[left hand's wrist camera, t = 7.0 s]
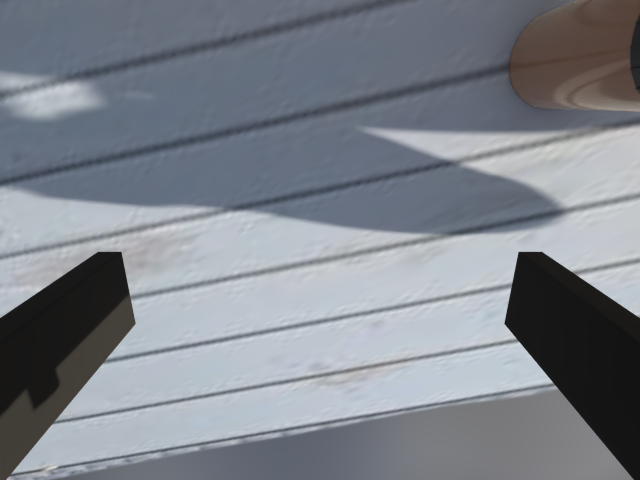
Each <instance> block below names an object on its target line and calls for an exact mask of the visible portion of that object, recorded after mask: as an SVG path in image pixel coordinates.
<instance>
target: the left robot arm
mask: <svg viewBox="0 0 640 480" xmlns="http://www.w3.org/2000/svg"><path fill="white" fill-rule="evenodd" d="M134 325H135V319H134V313H133V308H132V303H131V298H130V293H129V288H128V283H127V278H126V273H125V268H124V263H123V258H122V253H121V252H97V253H96V254H94V255H93V256H91V257H90V258H88V259H87V260H85V261H84V262H82V263H81V264H80V265H78V266H77V267H75V268H74V269H72V270H71V271H69V272H68V273H66V274H65V275H63V276H62V277H60V278H59V279H57V280H56V281H54V282H53V283H51V284H50V285H49V286H47V287H46V288H44V289H43V290H41V291H40V292H38V293H37V294H35V295H34V296H32V297H31V298H29V299H28V300H26V301H25V302H23V303H22V304H20V305H19V306H18V307H16V308H15V309H13V310H12V311H10V312H9V313H7V314H6V315H4V316H3V317H1V318H0V480H6V479H7V478H8V477H9V476H10V474H11V473H12V472H13V471H14V470H15V468H16V467H17V466H18V465H19V463H20V462H21V461H22V460H23V459H24V457H25V456H26V455H27V454H28V453H29V451H30V450H31V449H32V448H33V447H34V445H35V444H36V443H37V442H38V441H39V439H40V438H41V437H42V436H43V435H44V433H45V432H46V431H47V430H48V429H49V427H50V426H51V425H52V424H53V423H54V421H55V420H56V419H57V418H58V417H59V415H60V414H61V413H62V412H63V411H64V409H65V408H66V407H67V406H68V404H69V403H70V402H71V401H72V400H73V398H74V397H75V396H76V395H77V394H78V392H79V391H80V390H81V389H82V388H83V386H84V385H85V384H86V383H87V382H88V380H89V379H90V378H91V377H92V376H93V374H94V373H95V372H96V371H97V370H98V368H99V367H100V366H101V365H102V364H103V362H104V361H105V360H106V359H107V358H108V356H109V355H110V354H111V353H112V351H113V350H114V349H115V348H116V347H117V345H118V344H119V343H120V342H121V341H122V339H123V338H124V337H125V336H126V335H127V333H128V332H129V331H130V330H131V329H132V327H133V326H134ZM505 325H506V326H507V327H508V329H509V330H510V331H511V332H512V333H513V335H514V336H515V337H516V338H517V339H518V341H519V342H520V343H521V344H522V345H523V347H524V348H525V349H526V350H527V351H528V353H529V354H530V355H531V356H532V358H533V359H534V360H535V361H536V362H537V364H538V365H539V366H540V367H541V368H542V370H543V371H544V372H545V373H546V374H547V376H548V377H549V378H550V379H551V380H552V382H553V383H554V384H555V385H556V386H557V388H558V389H559V390H560V391H561V392H562V394H563V395H564V396H565V397H566V398H567V400H568V401H569V402H570V403H571V404H572V406H573V407H574V408H575V409H576V411H577V412H578V413H579V414H580V415H581V417H582V418H583V419H584V420H585V421H586V423H587V424H588V425H589V426H590V427H591V429H592V430H593V431H594V432H595V433H596V435H597V436H598V437H599V438H600V439H601V441H602V442H603V443H604V444H605V445H606V447H607V448H608V449H609V450H610V451H611V453H612V454H613V455H614V456H615V457H616V459H617V460H618V461H619V462H620V463H621V465H622V466H623V467H624V468H625V470H626V471H627V472H628V473H629V474H630V476H631V477H632V478H633V479H634V480H640V318H639V317H637V316H636V315H634V314H633V313H631V312H630V311H628V310H627V309H625V308H624V307H622V306H621V305H620V304H618V303H617V302H615V301H614V300H612V299H611V298H609V297H608V296H606V295H605V294H603V293H602V292H600V291H599V290H597V289H596V288H594V287H593V286H591V285H590V284H589V283H587V282H586V281H584V280H583V279H581V278H580V277H578V276H577V275H575V274H574V273H572V272H571V271H569V270H568V269H566V268H565V267H563V266H562V265H560V264H559V263H558V262H556V261H555V260H553V259H552V258H550V257H549V256H547V255H546V254H544V253H543V252H519V253H518V258H517V263H516V268H515V273H514V278H513V283H512V288H511V293H510V298H509V303H508V308H507V313H506V319H505Z"/></svg>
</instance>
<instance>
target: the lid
mask: <svg viewBox="0 0 640 480" xmlns="http://www.w3.org/2000/svg"><path fill="white" fill-rule="evenodd" d="M635 23H636V25H635V28H634V32H633V36H632V42H631V46H630V48H631V49H630V65H631V68H630V70H631V73H632V77H633V81H634V84H635V86H636V88H635V89H636V90H637V91H638V93H639V94H640V14H639V17H638V19H637V21H636V22H635Z"/></svg>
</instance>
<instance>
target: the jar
mask: <svg viewBox="0 0 640 480" xmlns="http://www.w3.org/2000/svg"><path fill="white" fill-rule="evenodd" d="M639 14H640V0H575V1H572V2H570V3H567V4H565V5H562V6H560V7H557V8H555V9H552V10H550V11H548V12H545V13H543V14H542V15H540V16H538V17H537V18H536V19H534V20H533V21H532V22H531V23H530V24H529V25H528V26H527V27H526V28H525V29H524V30H523V32H522V33H521V34H520V36H519V37H518V39H517V41H516V43H515V45H514V48H513V50H512V54H511V58H510V67H509V72H510V79H511V83H512V86H513V88H514V90H515V92H516V93H517V95H518V96H519V97H520V98H521V99H522V100H523V101H524V102H526V103H527V104H529V105H531V106H533V107H537V108H542V109H568V110H599V111H630V112H640V94H639V93H638V91H637V90H636V89H635V88H636V86H635V84H634V81H633V77H632V73H631V70H630V68H631V65H630V49H631V48H630V46H631V42H632V36H633V32H634V28H635V25H636V23H635V22H636V21H637V19H638V17H639Z"/></svg>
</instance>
